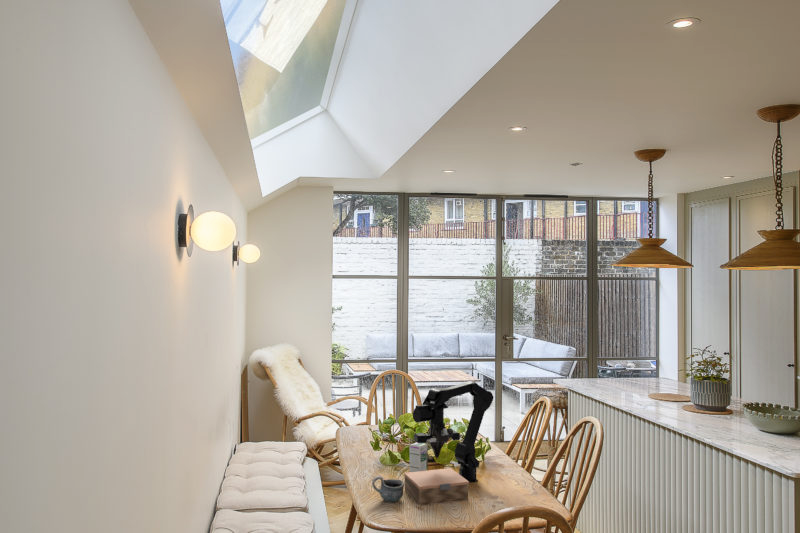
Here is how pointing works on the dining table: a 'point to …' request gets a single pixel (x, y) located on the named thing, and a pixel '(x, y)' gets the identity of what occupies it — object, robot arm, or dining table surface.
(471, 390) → the robot arm
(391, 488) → the mug
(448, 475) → the lid
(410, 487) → the crate
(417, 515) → the dining table surface
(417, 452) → the syrup box
